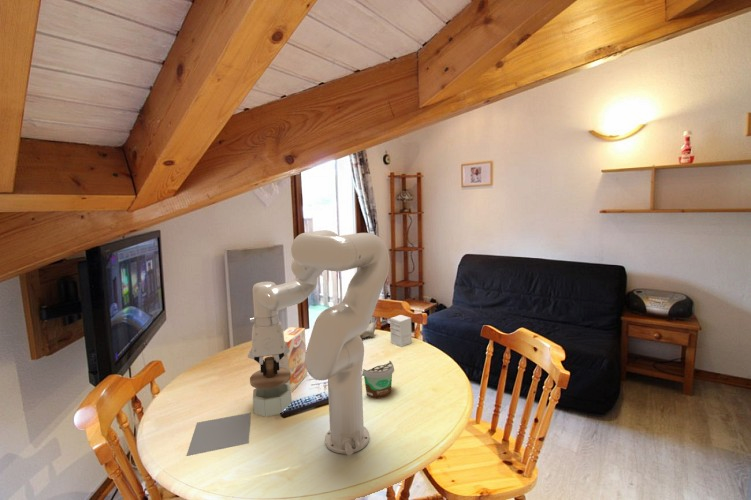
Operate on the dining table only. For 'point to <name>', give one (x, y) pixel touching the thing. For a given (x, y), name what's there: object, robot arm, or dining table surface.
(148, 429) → the dining table surface
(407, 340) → the white mini drawer cabinet
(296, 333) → the coffeecake box
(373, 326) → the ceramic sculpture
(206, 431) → the mat
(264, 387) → the lid
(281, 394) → the bowl
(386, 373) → the food container
